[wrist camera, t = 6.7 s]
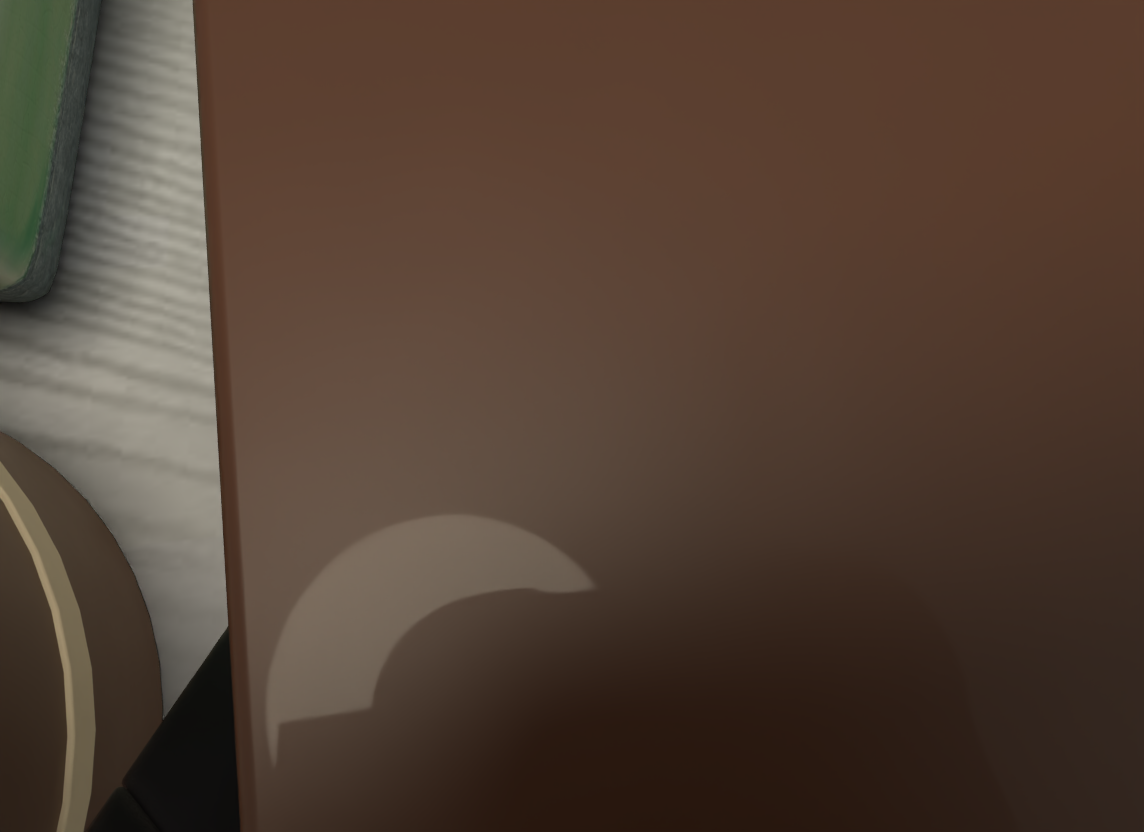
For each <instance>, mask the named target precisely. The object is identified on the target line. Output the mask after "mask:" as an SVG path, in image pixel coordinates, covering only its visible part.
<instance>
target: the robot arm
mask: <svg viewBox="0 0 1144 832" xmlns="http://www.w3.org/2000/svg"><path fill="white" fill-rule="evenodd" d="M122 785H123V787H117V788H116V789H115V790H114V791H113V792H112V794H111V795H110V797H109V798H108V800H107V801H106V803H105V804H104V806H103V807H102V809H101V810H100V811H99V813H98V814H97V816H96V817H95V819H94V820H93V822H92V823H91V824H90V826H89V827H88V829H87V830H86V832H240V817H239V800H238V782H237V765H236V747H235V730H234V712H233V695H232V678H231V660H230V643H229V626H228V627H227V629H226V630H225V632H224V633H223V635H222V636H221V637H220V639H219V640H218V642H217V643H216V645H215V646H214V648H213V649H212V650H211V652H210V653H209V655H208V656H207V658H206V659H205V661H204V662H203V663H202V665H201V666H200V668H199V669H198V671H197V672H196V674H195V675H194V676H193V678H192V679H191V681H190V682H189V684H188V685H187V687H186V688H185V689H184V691H183V692H182V694H181V695H180V697H179V698H178V700H177V701H176V702H175V704H174V705H173V707H172V708H171V710H170V711H169V713H168V714H167V715H166V717H165V718H164V720H163V721H162V723H161V724H160V726H159V727H158V728H157V730H156V731H155V733H154V734H153V736H152V737H151V739H150V740H149V741H148V743H147V744H146V746H145V747H144V749H143V750H142V752H141V753H140V754H139V756H138V757H137V759H136V760H135V762H134V763H133V765H132V766H131V767H130V769H129V770H128V772H127V773H126V775H125V776H124V778H123V780H122Z"/></svg>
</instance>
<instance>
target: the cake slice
mask: <svg viewBox="0 0 1144 832" xmlns="http://www.w3.org/2000/svg"><path fill="white" fill-rule="evenodd" d="M193 16H194V33H195V51H196V68H197V85H198V103H199V120H200V138H201V155H202V172H203V190H204V207H205V225H206V242H207V260H208V277H209V294H210V312H211V329H212V347H213V364H214V381H215V399H216V416H217V434H218V451H219V469H220V486H221V503H222V521H223V538H224V556H225V573H226V591H227V608H228V625H229V643H230V660H231V678H232V695H233V712H234V730H235V747H236V765H237V782H238V800H239V817H240V832H1144V0H193Z"/></svg>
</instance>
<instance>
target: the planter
mask: <svg viewBox="0 0 1144 832" xmlns="http://www.w3.org/2000/svg"><path fill="white" fill-rule="evenodd" d="M100 6H101V0H0V301H4V302H28V301H32V300H36V299H38V298H40V297H42V296H44V295H45V294H46V293H48V292H49V291H50V288H51V285H52V282H53V279H54V277H55V274H56V271H57V267H58V261H59V256H60V251H61V246H62V241H63V235H64V230H65V225H66V220H67V214H68V207H69V201H70V195H71V189H72V183H73V176H74V170H75V164H76V158H77V152H78V145H79V139H80V133H81V127H82V121H83V114H84V108H85V102H86V95H87V89H88V82H89V76H90V70H91V63H92V57H93V51H94V44H95V38H96V32H97V25H98V19H99V13H100Z"/></svg>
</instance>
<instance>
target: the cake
mask: <svg viewBox="0 0 1144 832" xmlns="http://www.w3.org/2000/svg"><path fill="white" fill-rule="evenodd" d="M162 711H163V705H162V692H161V679H160V666H159V658H158V653H157V649H156V644H155V640H154V635H153V630H152V626H151V621H150V617H149V614H148V611H147V608H146V606H145V603H144V600H143V598H142V595H141V592H140V590H139V587H138V584H137V581H136V579H135V576H134V574H133V572H132V570H131V568H130V566H129V564H128V563H127V561H126V559H125V557H124V555H123V553H122V552H121V550H120V548H119V546H118V544H117V542H116V541H115V539H114V537H113V535H112V534H111V532H110V531H109V530H108V528H107V527H106V526H105V524H104V523H103V522H102V520H101V519H100V518H99V516H98V515H97V514H96V512H95V511H94V510H93V508H92V507H91V506H90V504H89V503H88V502H87V500H86V499H85V498H84V497H83V496H82V495H81V494H80V493H79V492H78V491H77V490H76V489H75V488H74V487H73V486H72V485H71V484H70V483H69V482H68V481H67V480H66V479H65V478H64V477H63V476H62V475H61V474H60V473H59V472H58V471H57V470H56V469H54V468H53V467H52V466H50V465H49V464H48V463H46V462H45V461H44V460H43V459H41V458H40V457H39V456H37V455H36V454H35V453H33V452H32V451H31V450H29V449H28V448H27V447H25V446H24V445H23V444H21V443H20V442H18V441H16V440H15V439H13V438H11V437H9V436H7V435H6V434H4V433H2V432H0V832H86V830H87V829H88V827H89V826H90V824H91V823H92V822H93V820H94V819H95V817H96V816H97V814H98V813H99V811H100V810H101V809H102V807H103V806H104V804H105V803H106V801H107V800H108V798H109V797H110V795H111V794H112V792H113V791H114V790H115V789H116V788H117V787H123V785H122V780H123V778H124V776H125V775H126V773H127V772H128V770H129V769H130V767H131V766H132V765H133V763H134V762H135V760H136V759H137V757H138V756H139V754H140V753H141V752H142V750H143V749H144V747H145V746H146V744H147V743H148V741H149V740H150V739H151V737H152V736H153V734H154V733H155V731H156V730H157V728H158V727H159V726H160V724H161V723H162Z"/></svg>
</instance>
